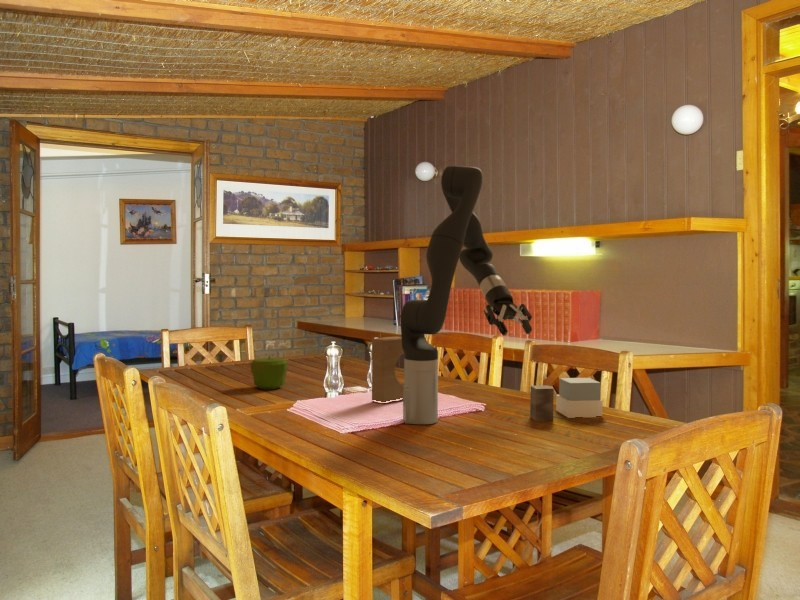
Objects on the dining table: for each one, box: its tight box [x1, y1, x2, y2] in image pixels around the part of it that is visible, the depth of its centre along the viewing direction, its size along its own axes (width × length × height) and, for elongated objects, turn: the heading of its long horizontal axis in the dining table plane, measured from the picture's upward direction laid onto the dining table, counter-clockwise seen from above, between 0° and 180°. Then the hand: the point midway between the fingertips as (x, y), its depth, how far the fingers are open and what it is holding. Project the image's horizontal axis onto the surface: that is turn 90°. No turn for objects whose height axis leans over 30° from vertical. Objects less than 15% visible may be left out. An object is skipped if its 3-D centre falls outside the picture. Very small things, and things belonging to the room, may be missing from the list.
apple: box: [250, 356, 288, 391], centre depth 237 cm, size 12×12×11 cm
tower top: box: [558, 377, 602, 401], centre depth 196 cm, size 9×9×5 cm
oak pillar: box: [529, 385, 554, 422], centre depth 188 cm, size 5×5×9 cm
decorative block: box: [371, 335, 404, 402], centre depth 214 cm, size 11×6×20 cm, turn 135°
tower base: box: [555, 394, 603, 419], centre depth 196 cm, size 10×10×5 cm
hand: (517, 333), depth 199 cm, fingers open, 8 cm apart
